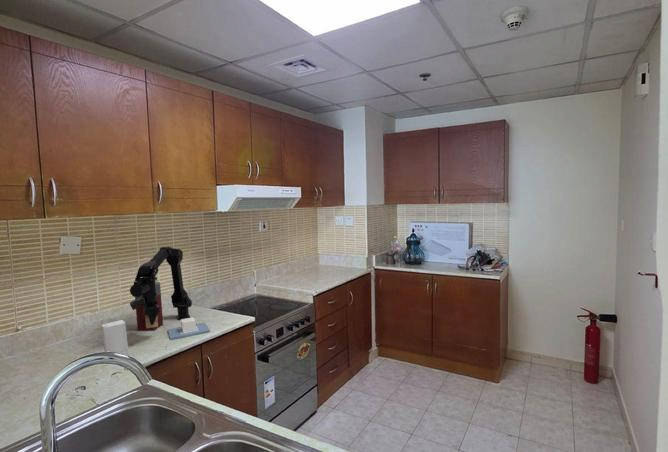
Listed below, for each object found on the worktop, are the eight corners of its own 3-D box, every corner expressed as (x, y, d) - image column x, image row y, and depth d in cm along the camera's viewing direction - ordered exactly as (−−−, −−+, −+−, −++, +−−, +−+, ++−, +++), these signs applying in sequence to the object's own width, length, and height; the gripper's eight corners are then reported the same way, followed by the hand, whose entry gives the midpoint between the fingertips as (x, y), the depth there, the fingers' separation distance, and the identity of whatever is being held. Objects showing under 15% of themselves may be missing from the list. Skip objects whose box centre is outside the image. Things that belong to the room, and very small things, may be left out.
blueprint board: (167, 331, 187) (167, 329, 187) (204, 324, 196) (204, 321, 196) (170, 340, 175) (170, 337, 175) (210, 332, 183) (210, 329, 183)
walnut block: (145, 325, 178) (145, 315, 178) (157, 323, 181) (156, 313, 181) (146, 328, 174) (145, 318, 174) (158, 326, 177) (157, 316, 176)
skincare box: (126, 351, 163) (123, 318, 162) (129, 356, 158) (126, 322, 157) (104, 357, 157) (101, 323, 156) (106, 362, 153) (103, 327, 152)
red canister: (143, 324, 198) (139, 273, 196) (163, 324, 197) (159, 272, 195) (133, 330, 189) (128, 276, 187) (154, 330, 188) (150, 276, 186)
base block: (181, 329, 186) (180, 319, 186) (193, 326, 189) (193, 317, 189) (183, 332, 181) (182, 322, 181) (196, 330, 184) (195, 320, 184)
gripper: (129, 290, 180) (132, 321, 182) (130, 298, 164) (133, 332, 165) (155, 286, 186) (157, 317, 187) (158, 294, 170) (160, 327, 171)
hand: (151, 323), depth 177 cm, fingers closed on walnut block, 5 cm apart
